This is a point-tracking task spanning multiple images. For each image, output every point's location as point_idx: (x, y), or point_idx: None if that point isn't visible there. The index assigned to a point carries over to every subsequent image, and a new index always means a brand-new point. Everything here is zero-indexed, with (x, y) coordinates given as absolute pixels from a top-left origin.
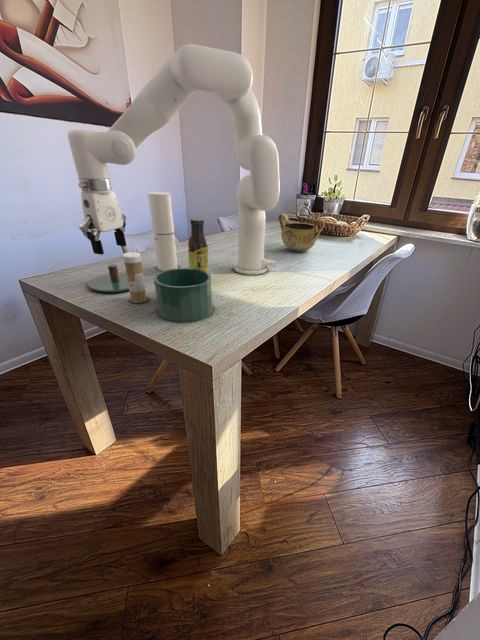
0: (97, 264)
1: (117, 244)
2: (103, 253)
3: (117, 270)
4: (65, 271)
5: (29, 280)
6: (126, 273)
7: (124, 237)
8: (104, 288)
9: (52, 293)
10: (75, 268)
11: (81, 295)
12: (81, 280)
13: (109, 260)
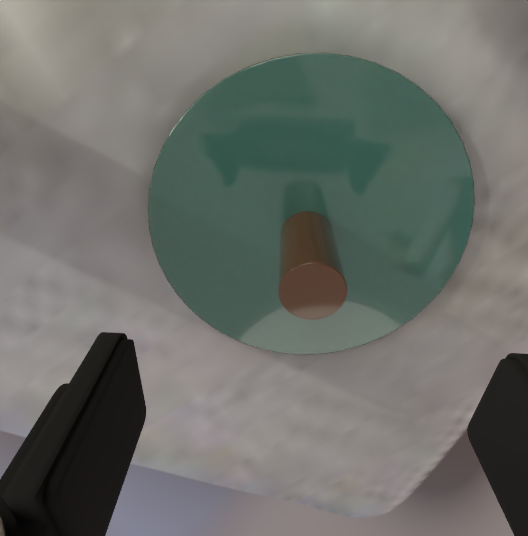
0: None
1: (144, 413)
2: (525, 355)
3: (301, 245)
4: (246, 480)
5: (375, 508)
6: (162, 255)
7: (57, 419)
8: (443, 218)
9: None
10: (200, 473)
11: (499, 287)
12: (312, 391)
13: None
